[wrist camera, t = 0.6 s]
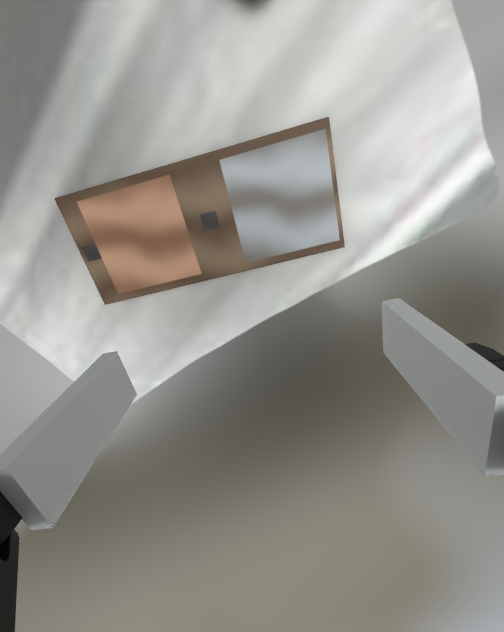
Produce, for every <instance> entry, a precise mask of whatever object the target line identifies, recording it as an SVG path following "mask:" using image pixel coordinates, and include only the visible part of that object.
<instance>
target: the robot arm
mask: <svg viewBox="0 0 504 632" xmlns="http://www.w3.org/2000/svg"><path fill="white" fill-rule="evenodd" d="M382 323H383V324H382V325H383V348H384V354H385V355H386V356H387V357H388V359H389V360H390V361H391V362H392V364H393V365H394V366H395V367H396V368H397V370H398V371H399V372H400V373H401V375H402V376H403V377H404V378H405V379H406V381H407V382H408V383H409V384H410V385H411V387H412V388H413V389H414V391H415V392H416V393H417V394H418V395H419V397H420V398H421V399H422V400H423V402H424V403H425V404H426V405H427V406H428V408H429V409H430V410H431V411H432V413H433V414H434V415H435V416H436V417H437V419H438V420H439V421H440V422H441V424H442V425H443V426H444V427H445V429H446V430H447V431H448V432H449V433H450V435H451V436H452V437H453V438H454V440H455V441H456V442H457V443H458V444H459V446H460V447H461V448H462V449H463V451H464V452H465V453H466V454H467V455H468V457H469V458H470V459H471V460H472V462H473V463H474V464H475V465H476V466H477V468H478V469H479V470H480V471H481V472H482V474H483V475H484V476H492V475H501V474H504V356H503V355H501V354H500V353H498V352H497V351H495V350H494V349H491V348H489V347H486V346H483V345H480V344H477V343H470V344H463V343H462V342H461V341H459V340H458V339H456V338H455V337H453V336H452V335H450V334H449V333H448V332H446V331H445V330H443V329H442V328H440V327H439V326H438V325H436V324H435V323H433V322H432V321H431V320H429V319H428V318H426V317H425V316H423V315H422V314H420V313H419V312H418V311H416V310H415V309H413V308H412V307H411V306H409V305H408V304H406V303H405V302H404V301H402V300H401V299H399V298H397V299H392V300H386V301H382ZM136 395H137V394H136V392H135V389H134V387H133V385H132V383H131V381H130V379H129V377H128V374H127V372H126V370H125V368H124V366H123V364H122V361H121V359H120V357H119V355H118V353H117V351H116V352H111V353H105V354H102V355H101V356H100V357H99V358H98V359H97V360H96V361H95V362H94V363H93V364H92V365H91V366H90V367H89V368H88V369H87V370H86V371H85V372H84V373H83V374H82V375H81V376H80V377H79V378H78V379H77V380H76V381H75V382H74V383H73V384H72V385H71V386H70V387H69V388H68V389H67V390H66V391H65V392H64V393H63V394H62V395H61V396H60V397H59V398H58V399H57V400H56V401H55V402H53V404H51V405H50V406H49V407H48V408H47V409H46V410H45V411H44V412H43V413H42V414H41V415H40V416H39V417H38V418H37V419H36V420H35V421H34V422H33V423H32V424H31V425H30V426H29V427H28V428H27V429H26V430H25V431H24V432H23V433H22V434H21V435H20V436H19V437H18V438H17V439H16V440H15V441H14V442H13V443H12V444H11V445H10V446H9V447H8V448H7V449H6V450H5V451H4V452H3V453H2V454H1V455H0V632H15V613H16V593H17V574H18V554H19V553H18V552H19V536H18V533H17V532H16V531H15V530H14V528H15V527H16V526H17V524H18V523H19V522H20V520H21V519H23V520H24V522H25V523H26V524H27V525H28V526H29V527H30V529H31V530H38V529H46V528H53V526H54V525H55V523H56V522H57V520H58V519H59V517H60V515H61V514H62V512H63V510H64V509H65V508H66V506H67V504H68V503H69V501H70V500H71V498H72V496H73V495H74V493H75V492H76V490H77V489H78V487H79V485H80V484H81V482H82V481H83V479H84V477H85V475H86V474H87V473H88V471H89V469H90V468H91V466H92V465H93V463H94V462H95V460H96V458H97V457H98V455H99V454H100V452H101V450H102V449H103V447H104V446H105V444H106V443H107V441H108V439H109V437H110V436H111V435H112V433H113V431H114V430H115V428H116V427H117V425H118V423H119V422H120V420H121V419H122V417H123V416H124V414H125V412H126V411H127V409H128V408H129V406H130V405H131V403H132V401H133V400H134V398H135V397H136Z"/></svg>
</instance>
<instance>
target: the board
mask: <svg viewBox="0 0 504 632" xmlns="http://www.w3.org/2000/svg"><path fill="white" fill-rule="evenodd" d="M55 201H56V203H57V205H58V207H59V209H60V211H61V213H62V215H63V217H64V219H65V222H66V224H67V226H68V228H69V230H70V232H71V234H72V236H73V238H74V240H75V243H76V245H77V247H78V249H79V251H80V253H81V255H82V257H83V259H84V261H85V264H86V266H87V268H88V270H89V272H90V274H91V276H92V278H93V280H94V282H95V285H96V287H97V289H98V291H99V293H100V295H101V297H102V299H103V301H104V303H105V305H106V304H110V303H114V302H118V301H123V300H127V299H131V298H135V297H139V296H143V295H147V294H152V293H156V292H160V291H164V290H168V289H172V288H177V287H181V286H185V285H189V284H193V283H197V282H201V281H206V280H210V279H214V278H218V277H222V276H226V275H230V274H235V273H239V272H243V271H247V270H251V269H255V268H259V267H264V266H268V265H272V264H276V263H280V262H284V261H288V260H293V259H297V258H301V257H305V256H309V255H313V254H318V253H322V252H326V251H330V250H334V249H338V248H342V247H345V246H344V238H343V230H342V221H341V213H340V205H339V197H338V188H337V180H336V172H335V164H334V156H333V147H332V139H331V131H330V123H329V117H327V118H323V119H320V120H316V121H313V122H310V123H306V124H303V125H300V126H296V127H293V128H290V129H286V130H283V131H280V132H276V133H273V134H269V135H266V136H263V137H259V138H256V139H253V140H249V141H246V142H243V143H239V144H236V145H233V146H229V147H226V148H222V149H219V150H216V151H212V152H209V153H206V154H202V155H199V156H196V157H192V158H189V159H186V160H182V161H179V162H176V163H172V164H169V165H165V166H162V167H159V168H155V169H152V170H149V171H145V172H142V173H139V174H135V175H132V176H129V177H125V178H122V179H118V180H115V181H112V182H108V183H105V184H102V185H98V186H95V187H92V188H88V189H85V190H82V191H78V192H75V193H71V194H68V195H65V196H61V197H58V198H55Z"/></svg>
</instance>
